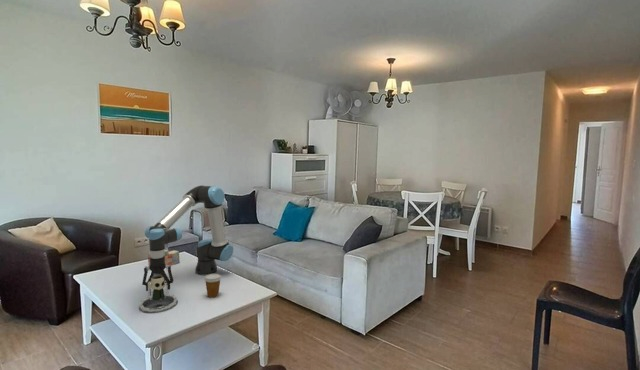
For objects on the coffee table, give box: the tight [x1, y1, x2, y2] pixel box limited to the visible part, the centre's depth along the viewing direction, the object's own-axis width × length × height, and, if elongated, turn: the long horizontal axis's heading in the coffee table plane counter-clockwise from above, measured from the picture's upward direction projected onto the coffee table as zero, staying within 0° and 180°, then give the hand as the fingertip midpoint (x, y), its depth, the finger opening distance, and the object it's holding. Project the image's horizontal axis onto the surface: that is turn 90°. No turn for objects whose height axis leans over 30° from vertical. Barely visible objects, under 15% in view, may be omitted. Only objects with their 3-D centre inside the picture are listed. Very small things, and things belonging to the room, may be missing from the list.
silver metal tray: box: [138, 293, 179, 314], centre depth 192 cm, size 20×20×2 cm
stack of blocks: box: [147, 249, 181, 267], centre depth 254 cm, size 21×6×12 cm, turn 147°
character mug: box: [148, 274, 167, 300], centre depth 191 cm, size 11×7×13 cm, turn 137°
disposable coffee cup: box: [204, 273, 222, 298], centre depth 206 cm, size 10×10×12 cm
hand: (158, 295), depth 192 cm, fingers closed on character mug, 8 cm apart
